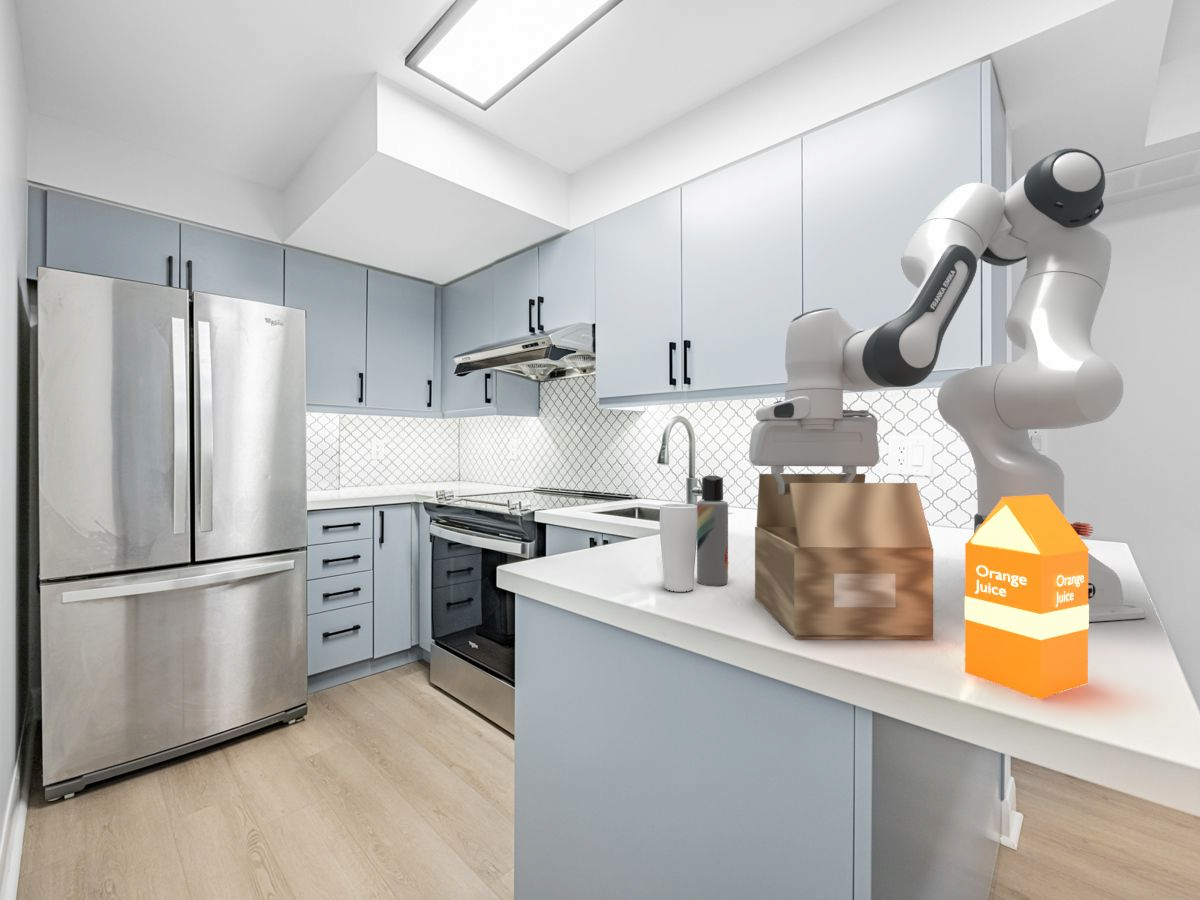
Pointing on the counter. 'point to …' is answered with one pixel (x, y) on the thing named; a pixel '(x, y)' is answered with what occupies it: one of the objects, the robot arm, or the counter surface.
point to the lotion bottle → (712, 533)
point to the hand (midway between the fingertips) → (812, 494)
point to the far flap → (787, 497)
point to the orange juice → (1027, 599)
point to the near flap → (859, 515)
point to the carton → (844, 589)
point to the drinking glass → (678, 545)
